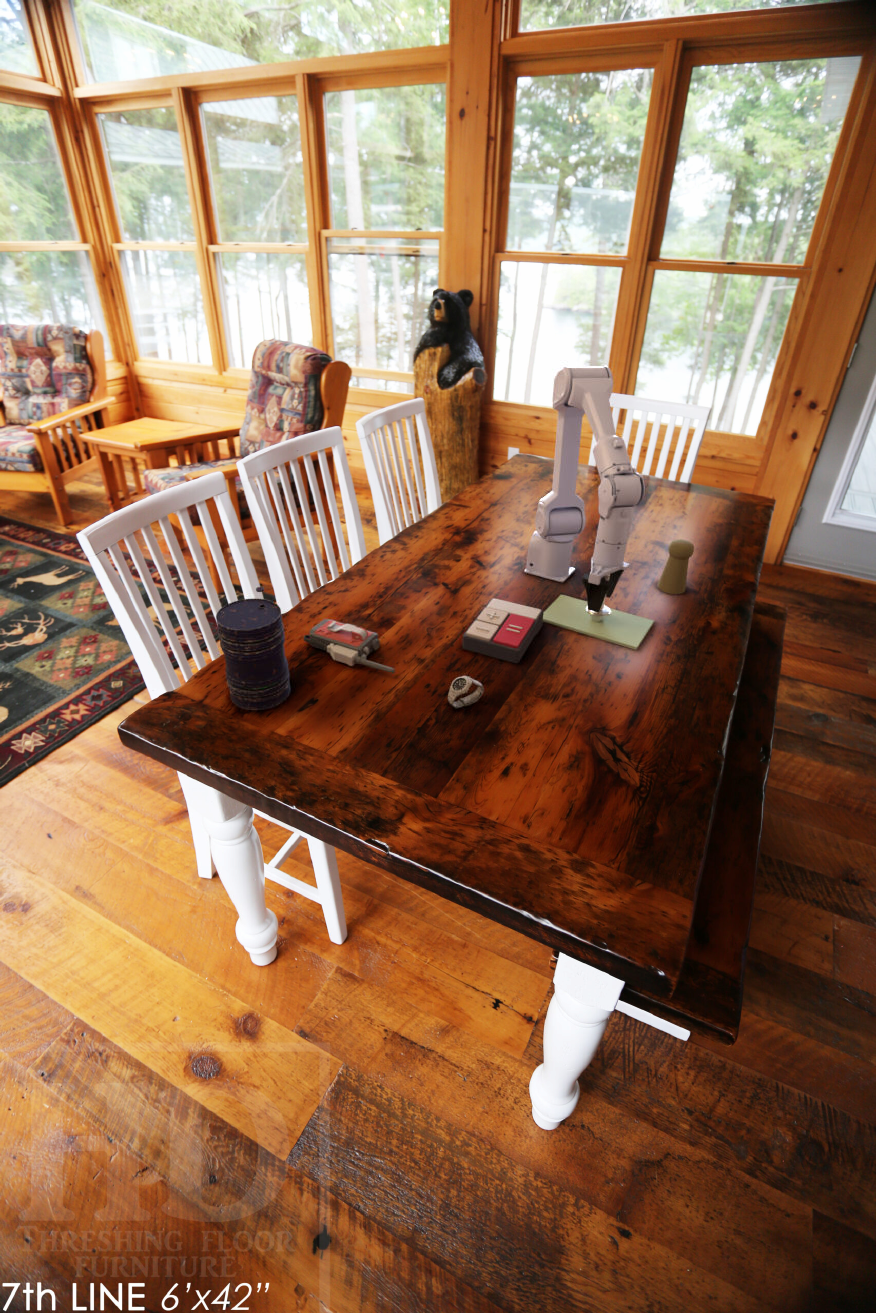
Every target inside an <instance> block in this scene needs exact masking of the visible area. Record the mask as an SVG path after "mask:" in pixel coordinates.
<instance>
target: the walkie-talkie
mask: <svg viewBox="0 0 876 1313" xmlns="http://www.w3.org/2000/svg"><path fill="white" fill-rule="evenodd" d="M302 639H303V641H304V642H305V643H308V644H310V646H311V647H314V648H316V649H318V650H319V649H320V650H322V651H325V652H326V653H329V654H330V656H331V658H332V659H333V661H336V662H339V663H343V664H345V665H348V666H350V667H353V666H354V665H355V664H356V665H362V666H365V667H369V668H372V669H374V670H378V671H384V672H387V673H391V674H395V673H396V671H395V668H393V667H390V666H387V665H384V664H382V663H381V664H380V663H378V662H375V661H372V660H369V659H367V656H368V655H370V654H371V653H372V652H373V651H377V650H378V649H379V647H380V643H381V642H380V639H379V634H378V633H377V632H374V631H371V630H367V629H365V628H364V627H361V626H357V625H355V624H351V623H344V622H340V621H337V620H334V619H330V618H329V619H328V618H324V619H322V620H321V621H319V623H317V624H315V626H313V627H312V628H310V629H309V634H305V635H303V638H302Z"/></svg>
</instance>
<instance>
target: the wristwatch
mask: <svg viewBox="0 0 876 1313" xmlns="http://www.w3.org/2000/svg"><path fill="white" fill-rule="evenodd" d="M473 684H474V685H475V686H477V688H476V690H475V691H474V692H472V693H471V694H469V695H467V696H465V697H460V698H459V699H458V700H457V701H455V700H456V699H457V698H458V697H459V696H461V695H465V694H467V693H468V691H469V689H470V687H471V686H472V685H473ZM484 690H485V688H484V686H483V684H482V683H481V682H480V681H478V680H475V679H474V678H471V676H468V675H462V676H459V677H456V678H455V679H453V681H452V683H451V684H450V687H449V691H448V693H447V694H448V695H447V700H448V703H449V704H450V706H452V708H454V709H460V708H461V709H462V708H463V707H467V706H471V705H472V704H475V703H476V702H478V701H479V699H480V698H481V697H482V695H483V693H484V692H485V691H484Z"/></svg>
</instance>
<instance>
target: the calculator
mask: <svg viewBox="0 0 876 1313" xmlns="http://www.w3.org/2000/svg"><path fill="white" fill-rule="evenodd" d="M544 612H545V611H544V610H542V609H540V608H536V607H532V606H528V605H523V604H519V603H515V602H511V601H507V600H503V599H498V598H491V599H489V601H488V602H487V604H486V605H485V606H484V608H483V609H482V610H481V611H480V613H479V614H478V615H477V617H476V618H475V619H474V620H473V622H472V623H471V624H470V625H469V626H468V628H467V630H466V631H465V632H464V633H463V635H462V649H463V650H466V651H469V652H473V653H476V654H479V655H484V656H487V657H491V658H495V659H497V660H502V661H505V662H509V663H513V664H519V663H520V661H521V659H522V657H523V656H524V655H525V653H526V651H527V649H528V648H529V647H530V645H531V643H532V642H533V640H534V639H535V636H537V635H538V633H539V632H540V630H541V629H542V627H543V623H544V622H543V614H544Z"/></svg>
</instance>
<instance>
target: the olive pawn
mask: <svg viewBox="0 0 876 1313" xmlns="http://www.w3.org/2000/svg"><path fill="white" fill-rule="evenodd" d="M667 551H668V557H667V560H666V562H665V565H664V566H663V570H662V572H661V575H660V577H659V579H658V582H657V584H656V587H657V589H659V590H660V591H661V592H663V593H667V594H671V595H682V594H683V593H685V592H686V586H687V578H688V571H689V562H690V558H692V556H693V555H694V551H695V546H694V543H692V542H691V541H689V540H686V539H681V538H678V539H674V540H671V542H670V543H669V544H668V548H667Z"/></svg>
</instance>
